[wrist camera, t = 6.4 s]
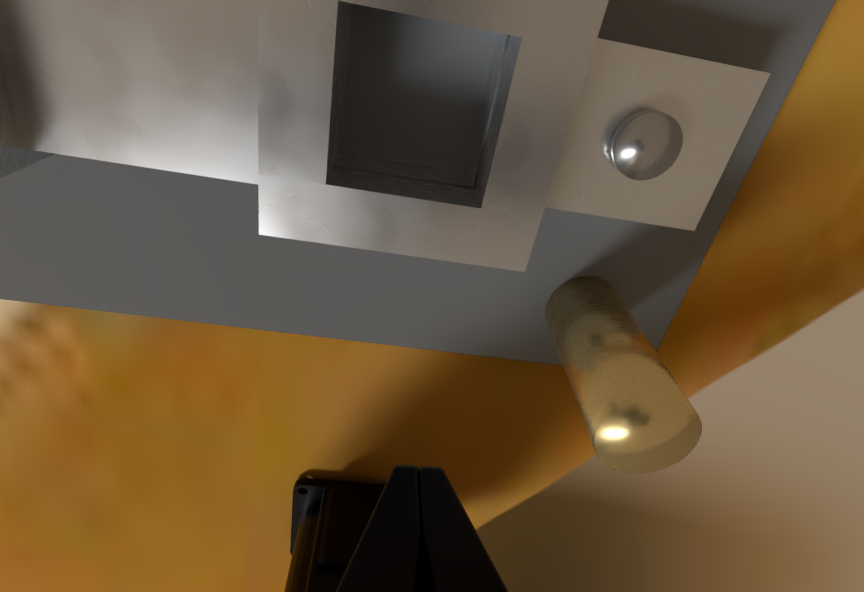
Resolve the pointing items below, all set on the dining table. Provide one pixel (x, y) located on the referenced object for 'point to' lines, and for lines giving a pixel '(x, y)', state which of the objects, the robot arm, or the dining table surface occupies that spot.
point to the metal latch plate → (290, 111)
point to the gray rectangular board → (401, 140)
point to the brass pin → (619, 380)
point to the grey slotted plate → (617, 134)
